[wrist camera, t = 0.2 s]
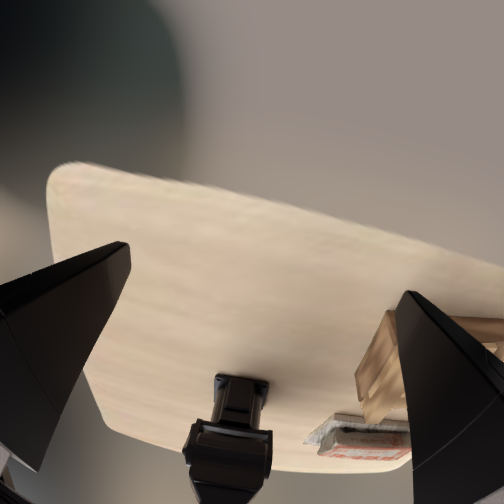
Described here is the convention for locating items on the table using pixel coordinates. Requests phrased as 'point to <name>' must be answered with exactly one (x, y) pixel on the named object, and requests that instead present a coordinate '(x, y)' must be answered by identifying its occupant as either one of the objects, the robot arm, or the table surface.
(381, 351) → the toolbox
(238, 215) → the table surface
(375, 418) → the lid
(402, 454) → the packaged product
